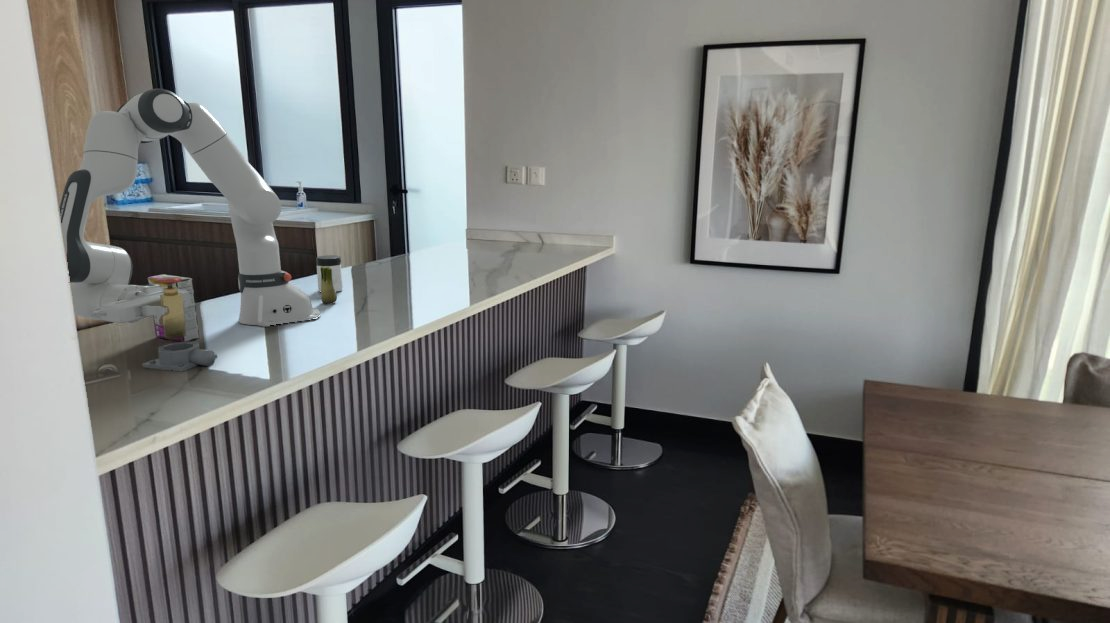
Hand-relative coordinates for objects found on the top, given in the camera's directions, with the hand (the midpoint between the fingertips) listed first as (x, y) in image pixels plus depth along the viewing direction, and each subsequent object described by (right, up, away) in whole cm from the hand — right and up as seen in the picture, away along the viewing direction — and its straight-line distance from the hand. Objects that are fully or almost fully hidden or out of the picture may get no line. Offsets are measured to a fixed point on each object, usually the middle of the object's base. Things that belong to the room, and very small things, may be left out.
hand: (175, 307), depth 158 cm
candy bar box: (-13, -8, +24) cm, 28 cm away
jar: (+8, +6, +84) cm, 84 cm away
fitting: (+1, -13, +3) cm, 13 cm away
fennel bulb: (+14, +2, +65) cm, 66 cm away
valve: (-1, -7, +2) cm, 7 cm away
